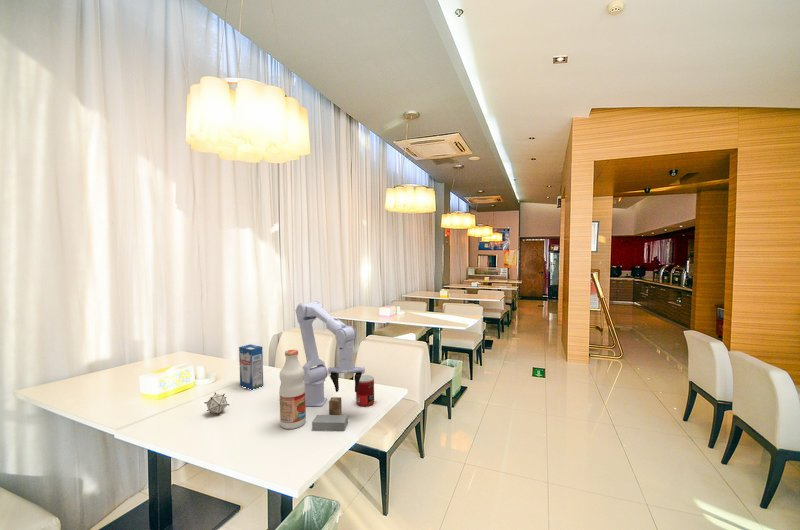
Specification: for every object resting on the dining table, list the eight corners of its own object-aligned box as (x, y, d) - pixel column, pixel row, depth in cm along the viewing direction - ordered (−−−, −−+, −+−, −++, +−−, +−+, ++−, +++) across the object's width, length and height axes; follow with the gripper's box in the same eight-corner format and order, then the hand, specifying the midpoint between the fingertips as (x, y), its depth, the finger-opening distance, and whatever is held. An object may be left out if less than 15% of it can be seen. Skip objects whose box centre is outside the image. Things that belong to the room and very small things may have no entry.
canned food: (371, 407, 144) (371, 381, 144) (353, 406, 145) (353, 380, 145) (376, 400, 151) (376, 375, 151) (359, 398, 153) (358, 374, 153)
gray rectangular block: (312, 430, 125) (312, 422, 125) (317, 422, 131) (316, 414, 131) (344, 430, 125) (344, 422, 125) (347, 422, 131) (347, 415, 131)
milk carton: (263, 386, 170) (262, 346, 169) (252, 390, 164) (251, 349, 164) (251, 382, 175) (250, 344, 175) (240, 386, 170) (238, 347, 169)
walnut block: (329, 419, 134) (328, 401, 134) (331, 414, 138) (331, 396, 138) (339, 419, 134) (339, 401, 134) (341, 414, 138) (341, 396, 138)
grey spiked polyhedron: (223, 420, 142) (238, 400, 143) (206, 422, 134) (222, 400, 135) (212, 406, 146) (226, 386, 147) (195, 407, 138) (211, 386, 139)
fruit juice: (281, 419, 134) (280, 348, 134) (306, 416, 136) (304, 347, 136) (278, 431, 125) (276, 355, 125) (305, 427, 127) (303, 353, 127)
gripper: (325, 360, 133) (326, 394, 133) (362, 360, 132) (363, 395, 132) (330, 355, 140) (330, 387, 140) (365, 355, 139) (365, 388, 139)
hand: (346, 391), depth 137 cm, fingers open, 7 cm apart
